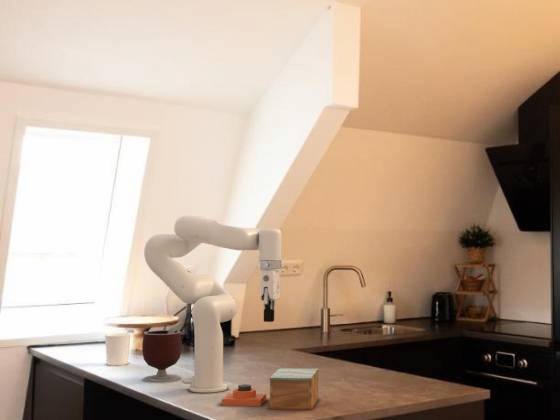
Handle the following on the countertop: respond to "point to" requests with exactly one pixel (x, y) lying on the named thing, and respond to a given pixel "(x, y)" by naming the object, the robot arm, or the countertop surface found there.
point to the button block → (244, 398)
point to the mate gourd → (162, 352)
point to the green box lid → (294, 374)
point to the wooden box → (293, 394)
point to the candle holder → (117, 348)
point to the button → (244, 387)
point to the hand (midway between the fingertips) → (268, 321)
